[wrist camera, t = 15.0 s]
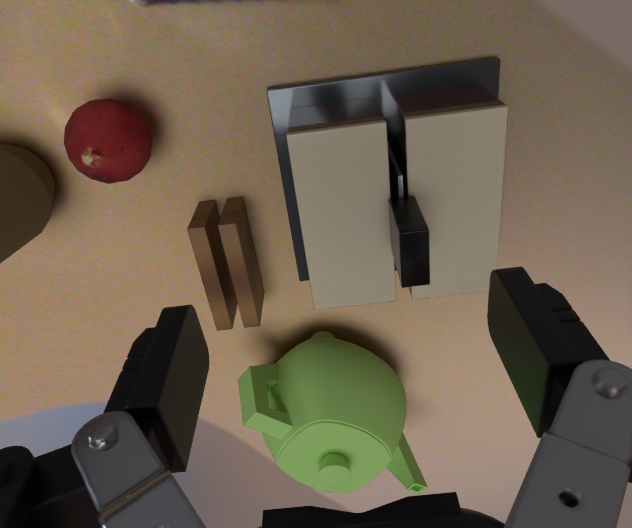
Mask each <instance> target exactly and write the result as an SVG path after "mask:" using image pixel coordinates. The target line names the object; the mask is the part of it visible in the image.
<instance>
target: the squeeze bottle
mask: <svg viewBox="0 0 632 528" xmlns="http://www.w3.org/2000/svg"><path fill="white" fill-rule="evenodd" d="M54 191H55V182H54V179H53V177H52V174H51V172H50V169H49V168H48V167H47V166H46V165H45V163H44V162H43V161H42V160H41V159H40V158H39V157H38V156H37V155H35V154H33V153H32V152H30V151H29V150H27V149H25V148H22V147H18V146H14V145H10V144H6V145H0V263H1V262H3V261H4V260H5V259H7V258H8V257H9V256H11V255H12V254H13V253H15V252H16V251H17V250H19V249H20V248H21V247H23V246H24V245H25V244H27V243H28V242H29V241H31V240H32V239H33V238H35V237H36V236H37V235H39V234H40V233H41V232H42V231H43V229H44V227H45V226H46V224H47V222H48V221H49V219H50V215H51V210H52V204H53V199H54Z"/></svg>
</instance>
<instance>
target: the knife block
mask: <svg viewBox="0 0 632 528" xmlns="http://www.w3.org/2000/svg"><path fill="white" fill-rule="evenodd" d="M187 231H188V234H189V237H190V241H191V244H192V248H193V251H194V254H195V258H196V261H197V265H198V268H199V271H200V275H201V278H202V282H203V285H204V288H205V292H206V295H207V298H208V302H209V305H210V309H211V312H212V315H213V319H214V322H215V326H216V329H217V330H227V329H232V328H233V323H234V319H235V314H236V309H237V304H238V306H239V310H240V314H241V318H242V321H243V325H244V328H246V327H255V326H260V321H261V314H262V306H263V299H264V289H263V285H262V280H261V276H260V271H259V267H258V262H257V257H256V253H255V248H254V244H253V239H252V235H251V230H250V226H249V221H248V217H247V212H246V208H245V203H244V199H243V197H236V198H228V199H227V200H226V203H225V206H224V209H223V212H222V215H221V218H219V214H218V210H217V206H216V202H215V200H212V201H204V202H199V204H198V206H197V208H196V211H195V213H194V215H193V217H192V220H191V222H190V224H189V226H188V229H187Z"/></svg>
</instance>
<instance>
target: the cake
mask: <svg viewBox="0 0 632 528" xmlns="http://www.w3.org/2000/svg"><path fill="white" fill-rule="evenodd" d="M499 74H500V58H498V57H488V58H481V59H473V60H466V61H459V62H451V63H444V64H437V65H429V66H422V67H414V68H407V69H400V70H392V71H385V72H378V73H370V74H363V75H355V76H348V77H341V78H333V79H326V80H319V81H311V82H304V83H296V84H289V85H282V86H274V87H268V88H267V96H268V102H269V107H270V113H271V119H272V125H273V130H274V136H275V142H276V148H277V153H278V159H279V165H280V171H281V176H282V182H283V188H284V194H285V199H286V205H287V211H288V217H289V222H290V228H291V234H292V240H293V245H294V251H295V257H296V263H297V268H298V274H299V280H300V281H306V280H310V285H311V292H312V298H313V304H314V309H315V310H317V309H326V308H336V307H345V306H354V305H363V304H372V303H382V302H391V301H396V286H395V270H397V268H396V264H395V260H394V257H393V253H392V249H391V236H390V220H389V204H388V199H390V198H391V197H390V179H389V161H388V143H387V142H389V144H390V146H391V149H392V151H393V154H394V156H395V159H396V161H397V163H398V166H399V168H400V171H401V173H402V176H403V196H404V197H406V196H415V198H416V200H417V203H418V205H419V207H420V210H421V212H422V214H423V217H424V219H425V221H426V224H427V226H428V228H429V246H430V284H429V285H422V286H413V287H409V290H410V294H411V297H412V299H418V298H427V297H437V296H446V295H455V294H464V293H473V292H482V291H489V284H490V274H491V271H492V270H496V269H497V263H498V248H499V234H500V219H501V205H502V190H503V176H504V161H505V146H506V132H507V117H508V106H507V105H505V104H504V103H503V102H502V101H500V100H499V99H498V91H499Z"/></svg>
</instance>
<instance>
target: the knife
mask: <svg viewBox="0 0 632 528" xmlns="http://www.w3.org/2000/svg"><path fill="white" fill-rule="evenodd" d="M387 143H388V161H389V179H390V197H391V198H390V199H388V204H389V220H390V236H391V249H392V253H393V257H394V260H395V264H396V268H397V271H398V275H399V279H400V282H401V286H402V287H403V288H404V287H413V286H422V285H429V284H430V246H429V228H428V226H427V224H426V221H425V219H424V217H423V214H422V212H421V210H420V207H419V205H418V203H417V200H416V198H415V196H406V197H404V196H403V176H402V173H401V171H400V168H399V166H398V163H397V161H396V159H395V156H394V154H393V151H392V149H391V146H390V144H389V142H387Z"/></svg>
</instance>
